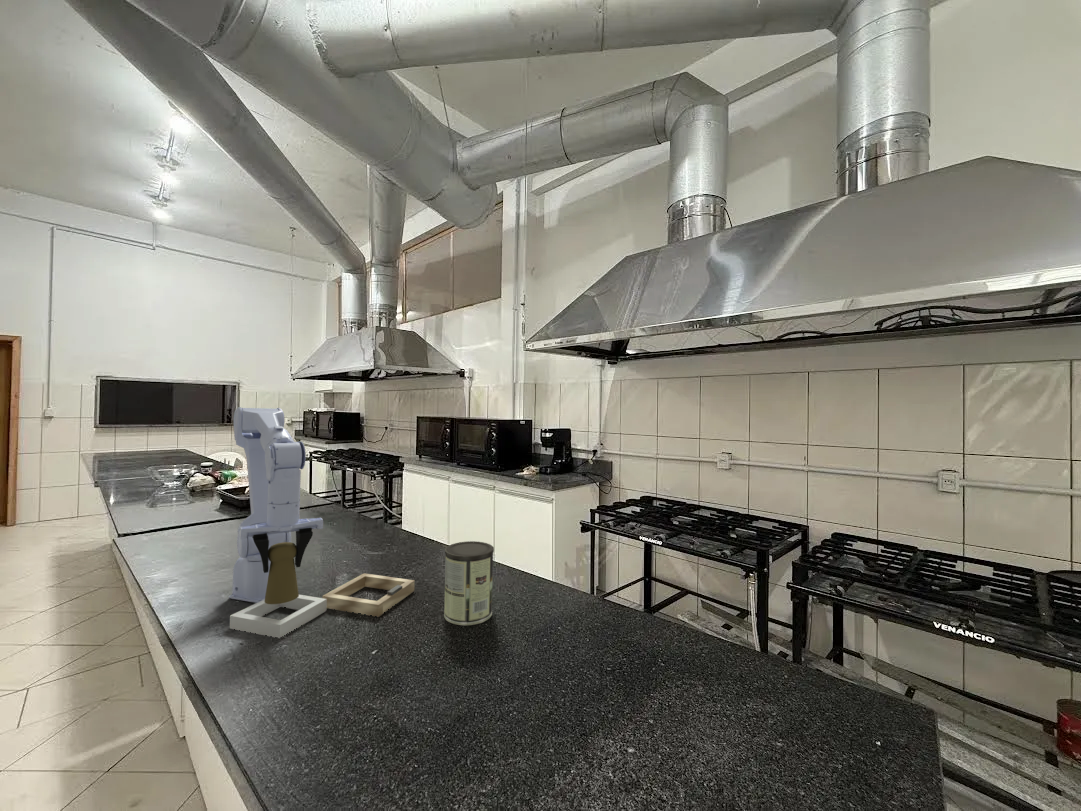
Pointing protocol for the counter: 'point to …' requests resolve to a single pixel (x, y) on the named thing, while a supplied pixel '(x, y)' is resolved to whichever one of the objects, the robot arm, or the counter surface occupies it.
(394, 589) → the wooden square frame
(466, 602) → the coffee can
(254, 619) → the white picture frame
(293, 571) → the cork
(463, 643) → the counter surface
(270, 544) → the robot arm
